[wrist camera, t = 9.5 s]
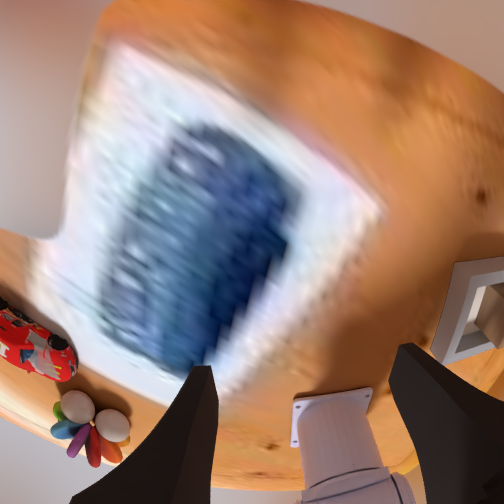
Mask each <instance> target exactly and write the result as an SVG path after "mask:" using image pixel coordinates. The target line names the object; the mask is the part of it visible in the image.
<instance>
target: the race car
mask: <svg viewBox="0 0 504 504" xmlns="http://www.w3.org/2000/svg"><path fill="white" fill-rule="evenodd" d="M0 356H2V357H3V358H4V359H5V360H7V361H8V362H10V363H11V364H13V365H15V366H17V367H19V368H22V369H24V370H28V371H27V372H28V374H29V373H30V372H31V371H33V372H36V373H38V374H41V375H43V376H45V377H47V378H49V379H52V380H54V381H58V382H64V381H67V380H69V379H71V378H72V377H74V375H75V374H76V372H77V369H78V363H77V359H76V356H75V354H74V352H73V350H72V349H71V347H70V346H68V347H67V341H66V340H65V339H62V338H60V337H59V336H58V335H52V336H51V333H50V332H49V331H47V330H46V329H44V328H42V327H41V326H39V325H38V324H36V323H35V322H33V321H32V320H30V319H29V318H27V317H26V316H24V315H23V314H21V313H20V312H18V311H17V310H15V309H14V308H13V307H11V306H10V305H9V306H8V303H7V302H6V301H4V300H3V299H2V298H1V297H0Z"/></svg>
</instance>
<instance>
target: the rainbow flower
mask: <svg viewBox="0 0 504 504" xmlns="http://www.w3.org/2000/svg"><path fill="white" fill-rule="evenodd" d="M53 413H54V415H55V417H56V418H57V419H58V423H56V424H55V425H53V426H52V427H51V434H52V435H53V436H54V437H55V438H58V439H72V441H71V443H70V445H69V447H68V449H67V455H68V456H69V457H71V458H74V457H75V456H76V455H77V454H78V452H79V451H80V449H81V448H82V446H83V445H84V444H85V449H86V455H87V459H88V462H89V464H90V465H91V466H92V467H95V468H97V467H99V466H100V463H101V455H102V456H103V457H104V458H105V459H107V460H108V461H110V462H112V463H120V462H121V461H122V459H123V456H122V452H121V450H120V448H119V447H125V446H127V445H128V444H129V442H130V436H129V433H130V425H129V422H128V420H127V418H126V417H125V416H124V415H123V414H122V413H120V412H119V411H117V410H113V409H106V410H103V411H101V412H99V413H98V414H97V415H96V419H95V426H93V427H92V425H91V424H90V423H89V422H90V421H91V420H92V419H93V417H94V416H95V407H94V404H93V402H92V400H91V399H90V397H89V396H88V395H86V394H85V393H83V392H81V391H77V390H72V391H69V392H67V393H65V394H64V395H63V397H62V398H61V401H59V402H56V403H55V404H54V407H53Z"/></svg>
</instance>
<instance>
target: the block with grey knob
mask: <svg viewBox="0 0 504 504" xmlns="http://www.w3.org/2000/svg"><path fill="white" fill-rule="evenodd" d="M474 323H475V325H476V326H477V327H478V328H479V329H480V330H481V331H482V332H483V333H484V334H485V335H486V337H487V338H488V339H489V340H490V341H491V342H492V343H493V344H494V346H495V347H496V348H497V349H500V348H503V347H504V282H502V283H497V284H493V285H488V286H486V288H485V292H484V295H483V298H482V302H481V305H480V308H479V311H478V314H477V317H476V320H475V322H474Z"/></svg>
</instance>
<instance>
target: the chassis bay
mask: <svg viewBox="0 0 504 504" xmlns="http://www.w3.org/2000/svg"><path fill="white" fill-rule="evenodd" d="M502 282H504V256H502V257H495V258H487V259H480V260H472V261H464V262H456V263H454V268H453V272H452V277H451V281H450V285H449V289H448V293H447V297H446V301H445V304H444V308H443V311H442V315H441V318H440V321H439V325H438V328H437V331H436V334H435V337H434V340H433V343H432V346H431V348H430V351H431V352H432V354H433V355H434V356H435V358H436V359H437V361H438V362H439V363H441V364H442V365H446V364H450V363H453V362H456V361H459V360H462V359H465V358H468V357H471V356H473V355H476V354H479V353H482V352H484V351H487V350H490V349H492V348H495V346H494V344H493V343H492V342H491V341H490V340H489V339H488V338H487V337H486V335H485V334H484V333H483V332H482V331H481V330H480V329H479V328H478V327H477V326H476V325H475V323H474V322H475V320H476V317H477V314H478V311H479V308H480V305H481V302H482V298H483V295H484V292H485V288H486V286H488V285H493V284H497V283H502Z"/></svg>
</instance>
